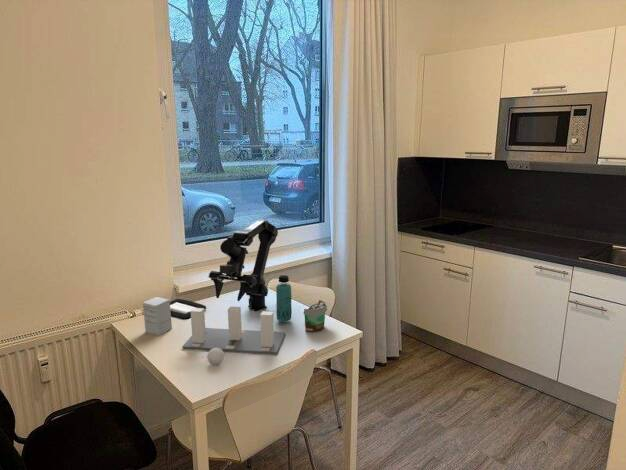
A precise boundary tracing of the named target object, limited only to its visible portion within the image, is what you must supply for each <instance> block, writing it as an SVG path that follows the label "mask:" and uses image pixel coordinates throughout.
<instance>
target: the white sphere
mask: <svg viewBox="0 0 626 470" xmlns="http://www.w3.org/2000/svg"><path fill="white" fill-rule="evenodd" d="M206 357H207V360H208V361H207V362H208V363H210V364H211V365H214V366H215V365H220V364H221V363H222V362H223V361H224V358H225V353H224V352H223V351H222V350H221V349H220V348H212V349H211V350H210V351H208V352H207V355H206ZM203 358H204V356H203V357H201V359H203Z"/></svg>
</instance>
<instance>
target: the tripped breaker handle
mask: <svg viewBox="0 0 626 470" xmlns="http://www.w3.org/2000/svg"><path fill="white" fill-rule="evenodd" d="M227 321H228V324H227V325H228V329H229V340H240V339H241V337H242V330H243V327H242V308H241V306H229V308H228V309H227Z"/></svg>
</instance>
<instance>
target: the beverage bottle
mask: <svg viewBox="0 0 626 470" xmlns="http://www.w3.org/2000/svg"><path fill="white" fill-rule="evenodd" d="M289 281H290V279H289V276H288V275H285V274H282V275H279V277H278V284H277V285H276V287H275V288H276V289H275V290H276V306H275V307H276V313H275V314H276V320H277V321H278V322H290V321H291V320H292V315H293V313H292V285H291V284H290V283H288V282H289Z"/></svg>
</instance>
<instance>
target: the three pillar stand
mask: <svg viewBox="0 0 626 470" xmlns="http://www.w3.org/2000/svg"><path fill="white" fill-rule="evenodd" d="M205 317H206V316H205V310H204V308H193V309H192V310H191V318H190V322H191V336H190V337H189V338H188V339H187V341H186V342H185V343H184V344H183V345H182V350H190V351H191V350H193V351H205V352H206V351H208V352H209V351H210V350H211V349H212V348H220V349H221V350H222V351H223V352H225V353H238V354H241V353H242V354H253V355H254V354H256V355H259V354H260V355H269V356H270V355H271V356H273V355H274V356H277V355H278V353H279V352H280V351H279V350H280V349H281V346H282V344H283V341H284V339H285V337H286V331H285V332H284V331H275V329H274V311H261V313H260V315H259V317H260V318H259V320H260V330H250V329H249V330H248V329H242V337H241V339H240V340H229V328H217V327H213V328H212V327H206V318H205Z"/></svg>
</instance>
